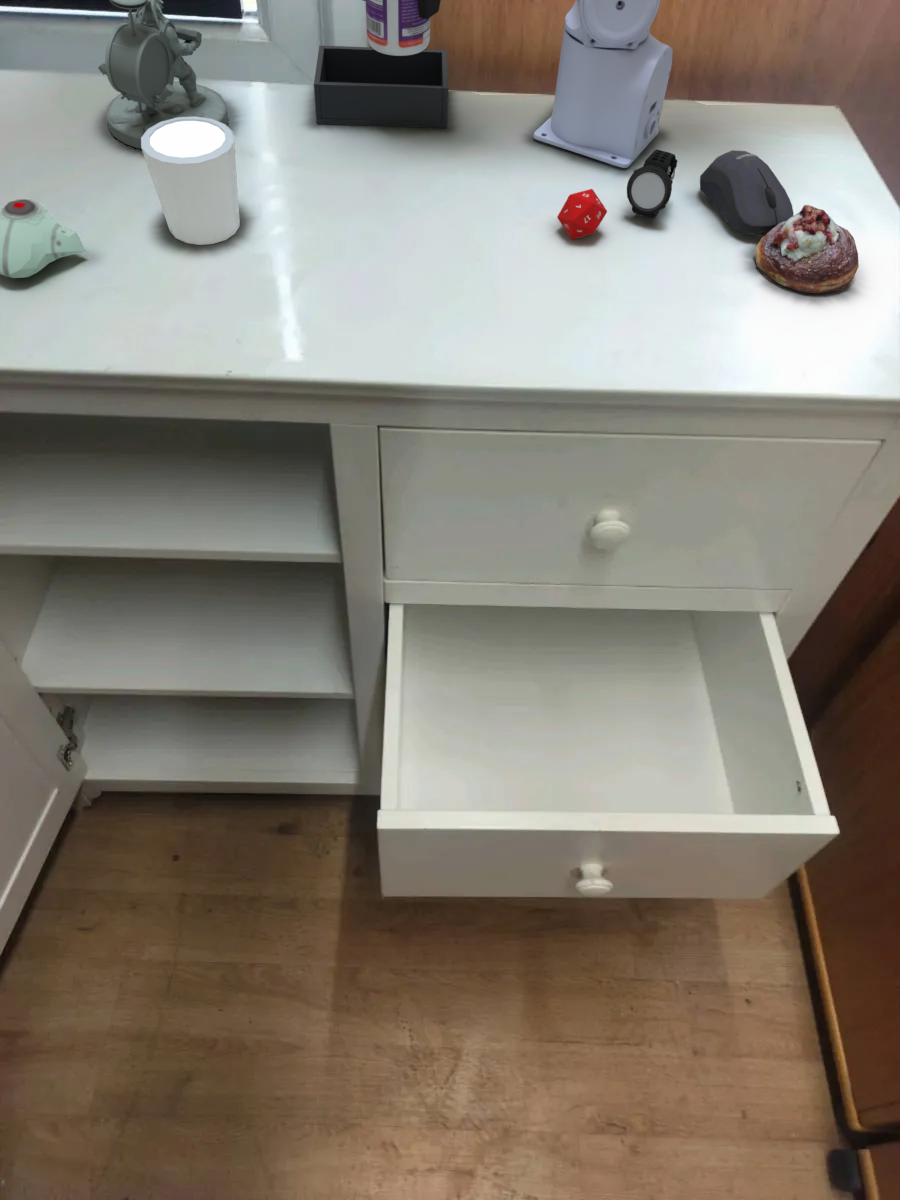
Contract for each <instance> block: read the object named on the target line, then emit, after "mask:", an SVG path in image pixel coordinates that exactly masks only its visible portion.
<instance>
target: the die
mask: <svg viewBox="0 0 900 1200" xmlns="http://www.w3.org/2000/svg"><path fill="white" fill-rule="evenodd" d="M607 213H608V210H607V209H606V207H605V205H604V204H603V202H602V201H601V199H600V198H599V196H598V195H597V193H596V192H595V190H594V189H593V188H589V189H585V190H582V191H579V192H574V193H570V194H569V195H568V197H567V199H566V200H565V202H564V204H563V206H562V207H561V209H560V211H559V213H558V214H557V217H556V218H557V220H558V221H559V223H560V224H561V226H562V227H563V229H564V230H565V231H566V233H567V234H568V236H569V237H570V239H571V240H576V239H579V238H584V237H587V236H591V235H593V234H595V233H596V231H597V230H598V228H599V226H600V225H601V223H602V222H603V220H604V218H605V216H606V215H607Z"/></svg>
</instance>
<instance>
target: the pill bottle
mask: <svg viewBox="0 0 900 1200" xmlns="http://www.w3.org/2000/svg"><path fill="white" fill-rule="evenodd" d="M365 19H366V36H367V39H366V40H367V43H368V44H369V47H372V48H373V49H374V50H376V51H378V52H380V53H383V54H387V55H394V56H407V55H413V54H417V53H419V52H421V51H423V50H424V49H427V48H428V46H429V44H430V39H431V17H430V18H429V19H424V18H420V15H419V7H418V0H366V1H365Z"/></svg>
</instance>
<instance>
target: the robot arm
mask: <svg viewBox="0 0 900 1200" xmlns="http://www.w3.org/2000/svg"><path fill="white" fill-rule="evenodd" d="M362 1H364V2H366V0H362ZM441 1H442V0H418V7H419V15H420V18H424V19H429V18H430V19H431V17H433V16H434V15H436V14H437V13H439V11H440V6H441ZM660 3H661V0H575V1H574V4H573V5H572V6H571V8H570V9H569V11H568V12H567V14H566V15H565V17H564V26H563V32H562V38H561V39H562V40H561V47H560V54H559V62H558V67H557V68H558V69H557V77H556V85H555V92H554V100H553V107H552V114H551V116H550V117H548V119H547V120H545V122H543V123H542V125H540V126H539V127H538V128H537V129H536V130H535V131H534V132H533V135H532V137H533V139H534V140H536V141H539V142H543V143H545V144H549V145H551V146H554V147H557V148H561V149H563V150H567V151H570V152H572V153H576V154H579V155H581V156H585V157H588V158H591V159H594V160H597V161H599V162H603V163H606V164H609V165H612V166H615V167H618V168H621V169H628V168H629V167H630V166H631V165H632V163H634V161H635V160H636V159H637V158H638V157H639V156H640V154H641V153H642V152H643V151H645V149H646V148H647V146H648V145H649V144H650V143H651V142H652V141H653V140H654V139H655V138H656V137H657V135H658V134H659V132H660V127H659V123H660V118H661V114H662V110H663V106H664V101H665V98H666V97H665V96H666V93H667V87H668V85H669V80H670V76H671V71H672V65H673V57H674V56H673V52H674V51H673V48H672V47H671V46H670V45H668V44H666V43H664V42H661V41H659V40H658V39H657V38H655V37H654V36H653V35H652V34H651V33H650V31H651V30H650V29H651V26H652V24H653V22H654V21H655V18H656V16H657V15H658V11H659V7H660Z"/></svg>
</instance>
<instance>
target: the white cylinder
mask: <svg viewBox="0 0 900 1200" xmlns="http://www.w3.org/2000/svg"><path fill="white" fill-rule="evenodd" d="M141 148H142V149H141V151H142V154H143V156H144V159H145V162H146V165H147V168H148V171H149V174H150V177H151V180H152V183H153V185H154V189H155V192H156V195H157V198H158V200H159V204H160V206H161V209H162V212H163V215H164V218H165V220H166V224H167V227H168V230H169V232H170V234H171V235H172V236H173V237H174V238H175V239H177V240H179V241H181V242H182V243H185V244H189V245H190V244H191V245H196V246H203V245H214V244H217V243H221V242H224V241H227V240H228V239H230V238H231V237H233V236H234V235H236V233H237V231H238V230H239V228H240V226H241V224H240V223H241V222H240V221H241V220H240V207H239V205H240V204H239V194H238V193H239V192H238V177H237V164H236V163H237V161H236V148H235V136H234V131H233V130H232V129H231V128H230V127H229V126H228V125H227V126H226V125H225V124H223V123H221V122H218V121H216V120H214V119H210V118H203V117H195V116H194V117H177V118H173V119H170V120H166V121H162V122H160V123H158V124H156V125H154V126H152V127H151V128H149V129H148V130H147V131H146V132H145V133H144V135H143V136H142V137H141Z"/></svg>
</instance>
